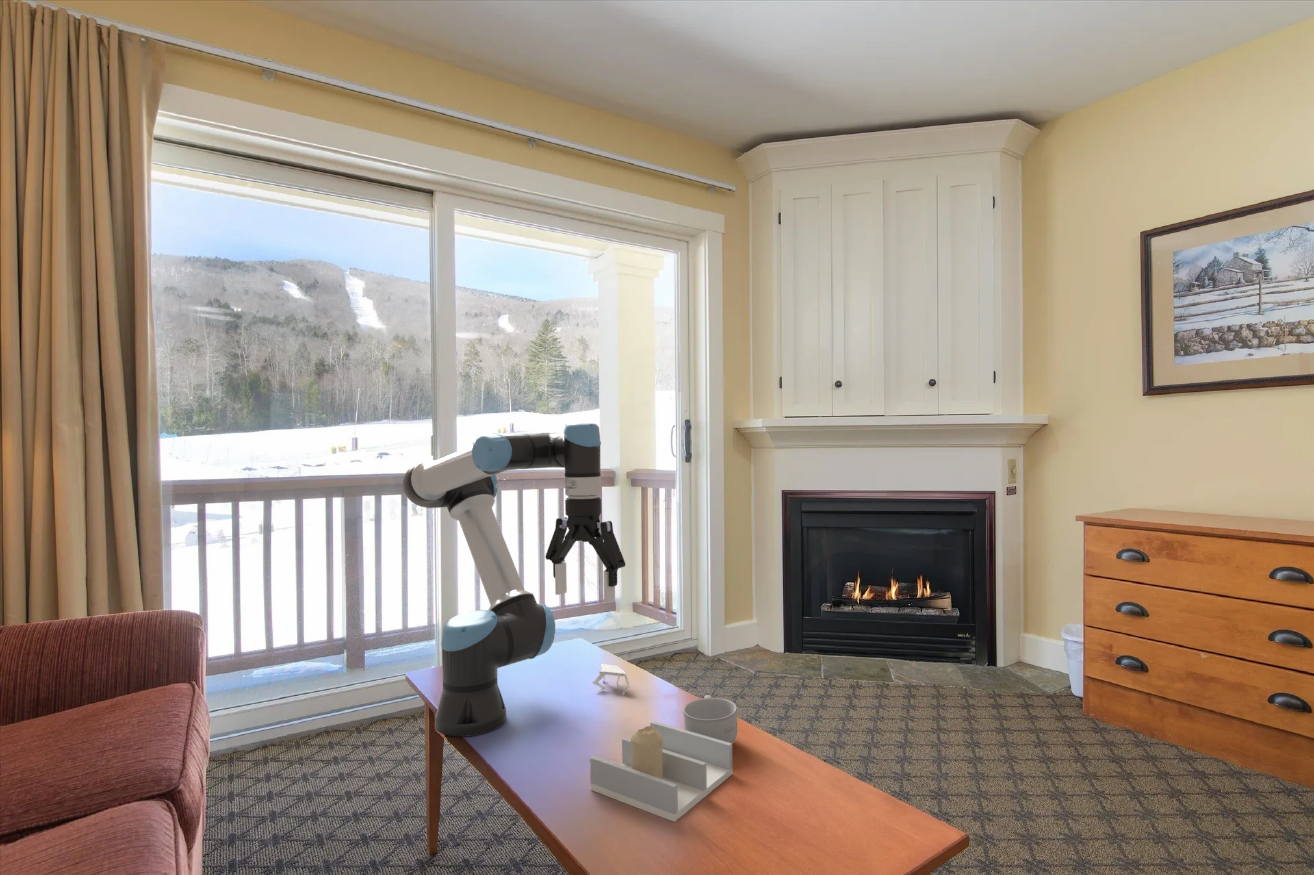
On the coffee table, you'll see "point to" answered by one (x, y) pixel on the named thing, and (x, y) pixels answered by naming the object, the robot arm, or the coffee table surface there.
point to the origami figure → (610, 671)
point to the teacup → (712, 718)
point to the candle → (647, 752)
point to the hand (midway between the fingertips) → (584, 597)
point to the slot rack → (666, 773)
